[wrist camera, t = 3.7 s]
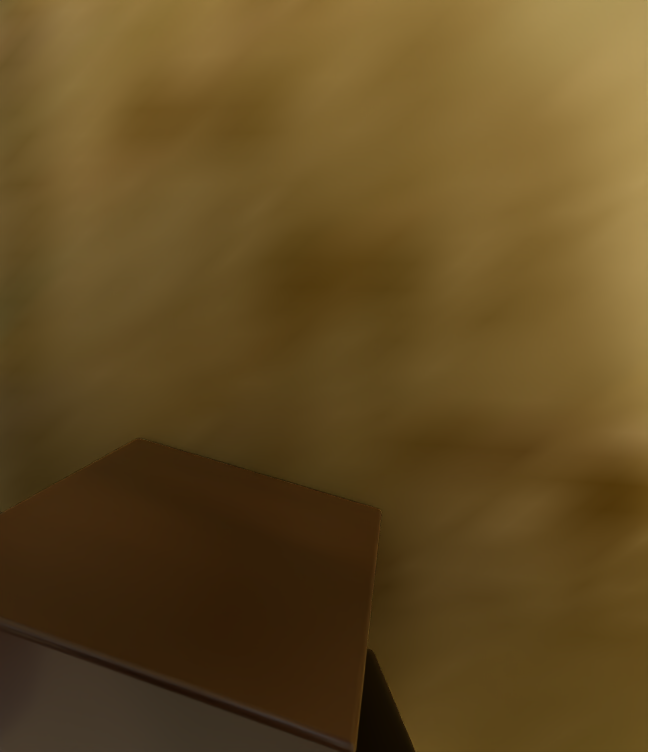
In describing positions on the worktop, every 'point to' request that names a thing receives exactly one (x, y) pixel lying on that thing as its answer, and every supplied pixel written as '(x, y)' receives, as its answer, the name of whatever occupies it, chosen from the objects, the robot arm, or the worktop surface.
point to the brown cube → (183, 610)
